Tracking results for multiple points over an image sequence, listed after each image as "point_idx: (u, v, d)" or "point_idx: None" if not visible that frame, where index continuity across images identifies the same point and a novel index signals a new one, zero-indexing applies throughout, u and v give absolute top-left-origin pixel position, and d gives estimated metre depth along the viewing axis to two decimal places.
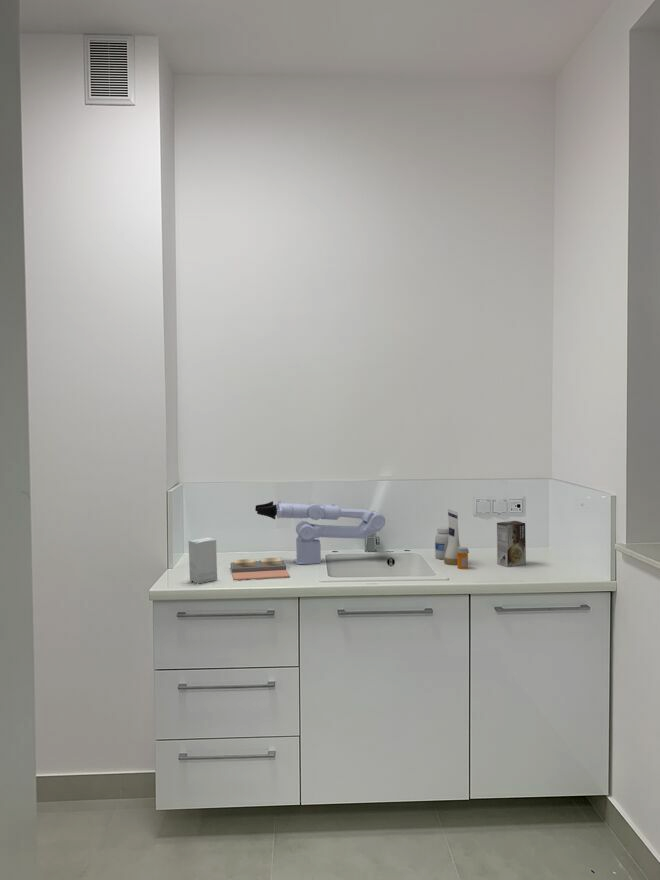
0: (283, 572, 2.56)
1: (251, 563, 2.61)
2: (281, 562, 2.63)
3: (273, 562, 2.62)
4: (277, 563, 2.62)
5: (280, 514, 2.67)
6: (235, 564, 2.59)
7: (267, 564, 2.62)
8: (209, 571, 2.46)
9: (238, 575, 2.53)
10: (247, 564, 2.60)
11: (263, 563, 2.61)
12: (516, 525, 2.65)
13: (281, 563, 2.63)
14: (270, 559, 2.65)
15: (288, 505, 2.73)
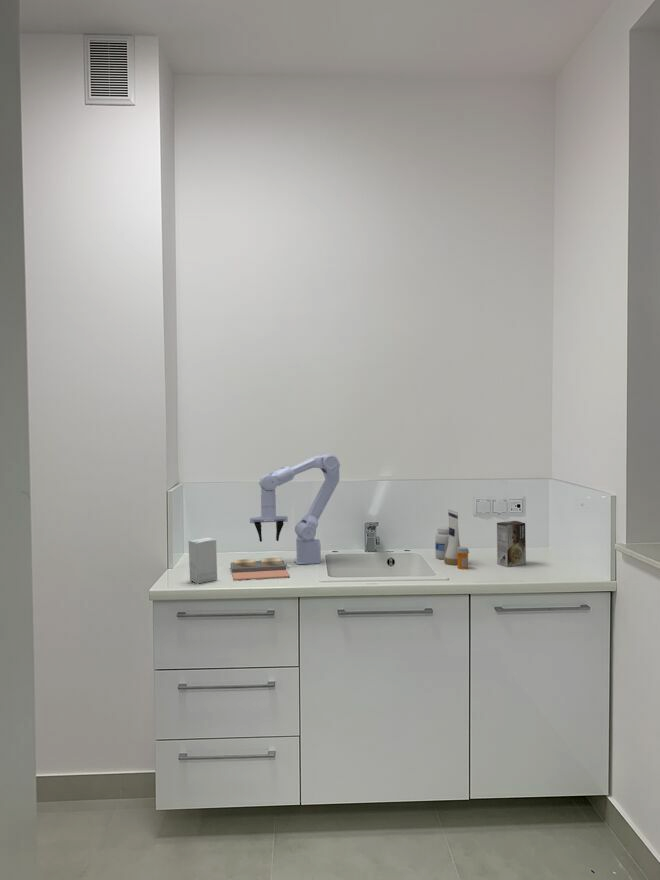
0: (283, 572, 2.56)
1: (251, 563, 2.61)
2: (281, 562, 2.63)
3: (273, 562, 2.62)
4: (277, 563, 2.62)
5: None
6: (235, 564, 2.59)
7: (267, 564, 2.62)
8: (209, 571, 2.46)
9: (238, 575, 2.53)
10: (247, 564, 2.60)
11: (263, 563, 2.61)
12: (516, 525, 2.65)
13: (281, 563, 2.63)
14: (270, 559, 2.65)
15: (273, 510, 2.70)
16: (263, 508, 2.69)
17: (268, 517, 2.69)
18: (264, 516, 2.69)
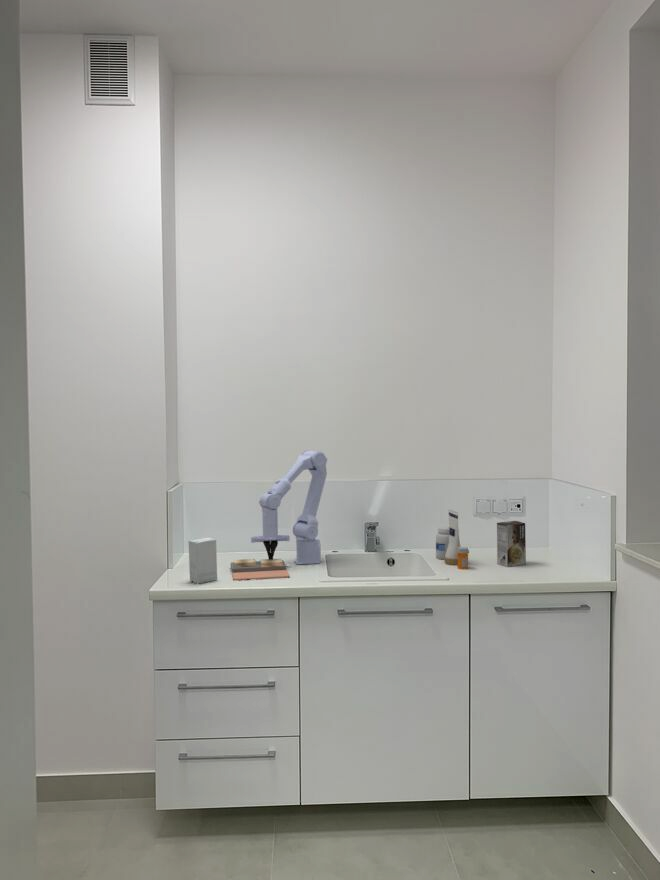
0: (283, 572, 2.56)
1: (251, 563, 2.61)
2: (281, 563, 2.60)
3: (273, 563, 2.60)
4: (277, 564, 2.60)
5: None
6: (235, 564, 2.59)
7: (267, 565, 2.60)
8: (209, 571, 2.46)
9: (238, 575, 2.53)
10: (247, 564, 2.60)
11: (263, 564, 2.59)
12: (516, 525, 2.65)
13: (281, 564, 2.60)
14: (270, 560, 2.63)
15: (275, 529, 2.65)
16: (265, 527, 2.64)
17: (270, 536, 2.64)
18: (266, 535, 2.64)
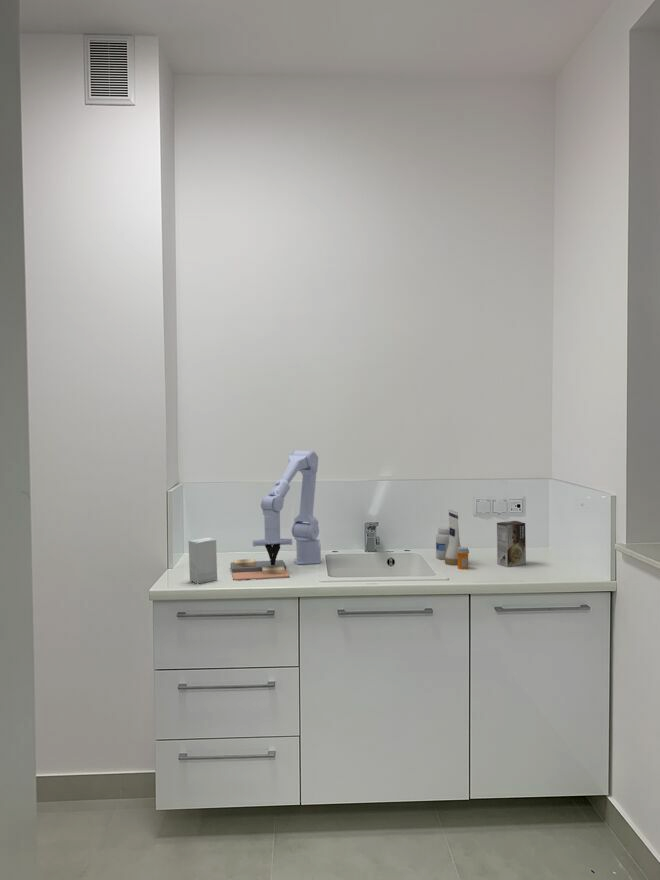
0: None
1: (251, 563, 2.61)
2: (283, 571, 2.54)
3: (275, 571, 2.54)
4: (279, 572, 2.54)
5: (291, 540, 2.61)
6: (235, 564, 2.59)
7: (269, 573, 2.53)
8: (209, 571, 2.46)
9: (238, 575, 2.53)
10: (247, 564, 2.60)
11: (265, 572, 2.53)
12: (516, 525, 2.65)
13: (283, 572, 2.54)
14: (272, 567, 2.57)
15: (277, 532, 2.57)
16: (267, 530, 2.57)
17: (272, 540, 2.56)
18: (268, 539, 2.57)
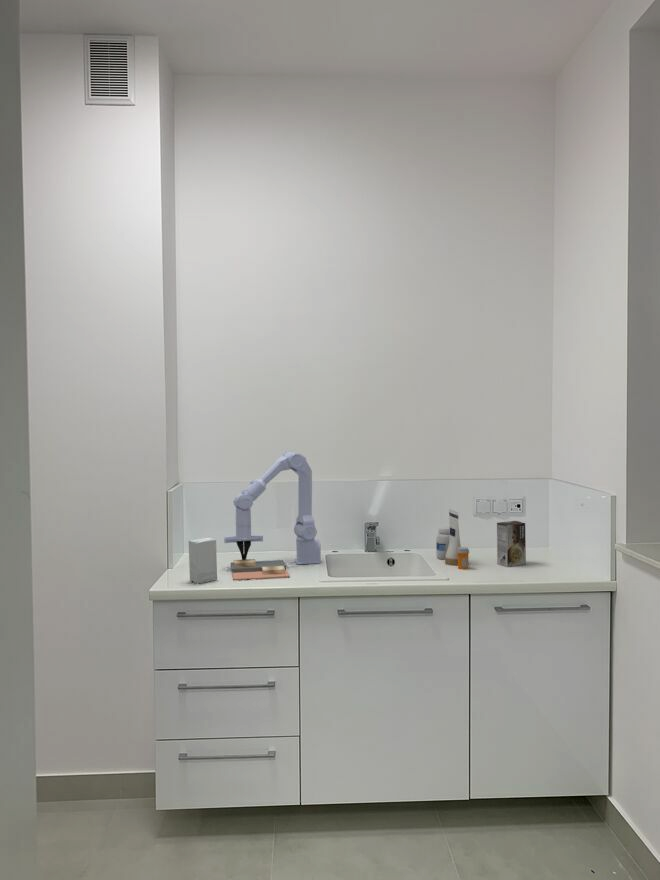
0: None
1: (251, 563, 2.60)
2: (283, 571, 2.54)
3: (275, 571, 2.54)
4: (279, 572, 2.54)
5: (262, 537, 2.68)
6: (235, 564, 2.59)
7: (269, 573, 2.53)
8: (209, 571, 2.46)
9: (238, 575, 2.53)
10: (247, 564, 2.60)
11: (265, 572, 2.53)
12: (516, 525, 2.65)
13: (283, 572, 2.54)
14: (272, 567, 2.57)
15: (248, 529, 2.65)
16: (238, 528, 2.64)
17: (243, 537, 2.64)
18: (239, 536, 2.64)
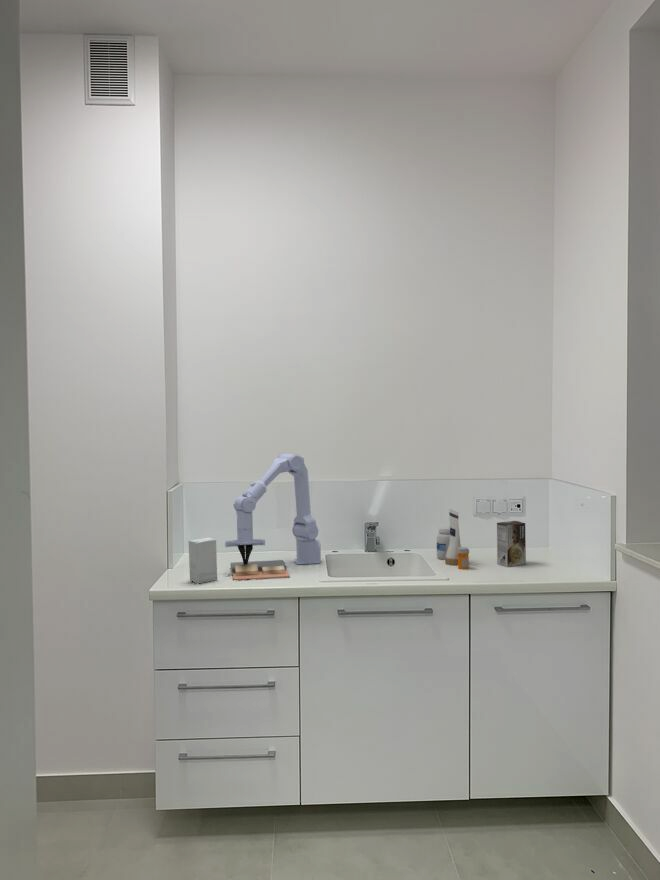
0: None
1: (253, 572, 2.53)
2: (283, 571, 2.54)
3: (275, 571, 2.54)
4: (279, 572, 2.54)
5: None
6: (236, 573, 2.52)
7: (269, 573, 2.53)
8: (209, 571, 2.46)
9: None
10: (249, 573, 2.52)
11: (265, 572, 2.53)
12: (516, 525, 2.65)
13: (283, 572, 2.54)
14: (272, 567, 2.57)
15: (249, 533, 2.57)
16: (239, 531, 2.56)
17: (244, 541, 2.56)
18: (240, 540, 2.56)
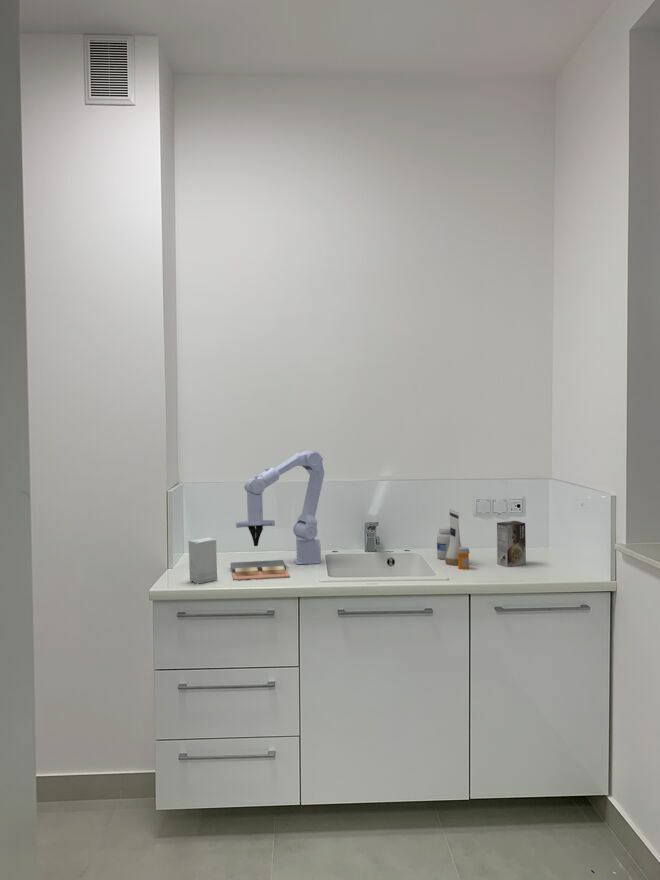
0: None
1: (253, 572, 2.52)
2: (283, 571, 2.54)
3: (275, 571, 2.54)
4: (279, 572, 2.54)
5: None
6: (236, 573, 2.51)
7: (269, 573, 2.53)
8: (209, 571, 2.46)
9: None
10: (249, 573, 2.52)
11: (265, 572, 2.53)
12: (516, 525, 2.65)
13: (283, 572, 2.54)
14: (272, 567, 2.57)
15: (260, 514, 2.64)
16: (249, 512, 2.63)
17: (255, 521, 2.63)
18: (250, 520, 2.63)
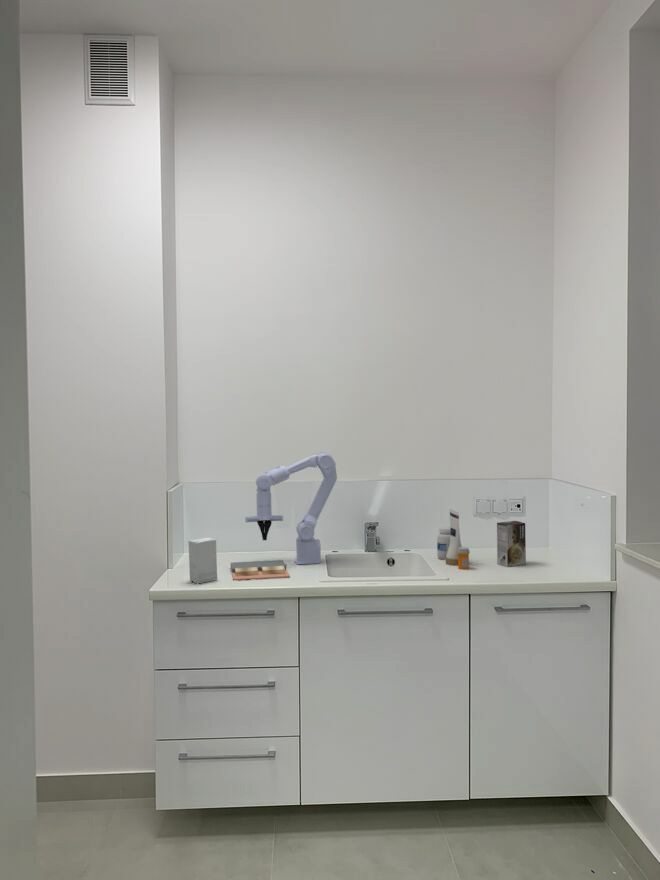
0: None
1: (253, 572, 2.52)
2: (283, 571, 2.54)
3: (275, 571, 2.54)
4: (279, 572, 2.54)
5: None
6: (236, 573, 2.51)
7: (269, 573, 2.53)
8: (209, 571, 2.46)
9: None
10: (249, 573, 2.52)
11: (265, 572, 2.53)
12: (516, 525, 2.65)
13: (283, 572, 2.54)
14: (272, 567, 2.57)
15: (268, 509, 2.72)
16: (259, 507, 2.72)
17: (263, 516, 2.71)
18: (259, 515, 2.71)
